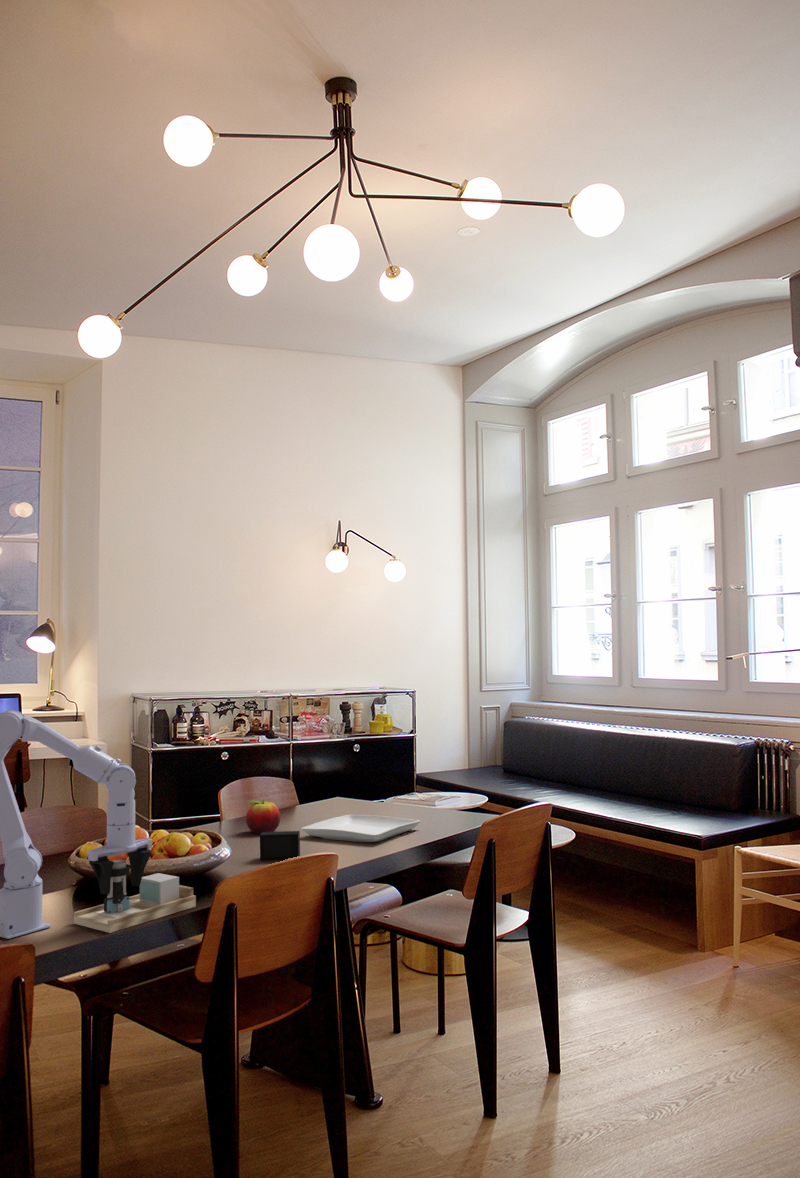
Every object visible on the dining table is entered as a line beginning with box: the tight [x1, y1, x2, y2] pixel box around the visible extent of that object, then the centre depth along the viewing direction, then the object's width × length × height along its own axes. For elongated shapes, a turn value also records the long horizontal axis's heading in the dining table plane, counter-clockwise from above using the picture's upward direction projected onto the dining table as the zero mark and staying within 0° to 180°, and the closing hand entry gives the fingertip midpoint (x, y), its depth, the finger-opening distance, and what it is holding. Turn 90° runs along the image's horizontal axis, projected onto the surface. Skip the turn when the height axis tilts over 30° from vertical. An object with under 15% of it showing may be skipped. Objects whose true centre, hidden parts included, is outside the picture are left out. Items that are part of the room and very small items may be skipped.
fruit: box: [245, 799, 281, 835], centre depth 276 cm, size 11×11×10 cm
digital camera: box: [259, 830, 301, 862], centre depth 238 cm, size 10×5×7 cm, turn 91°
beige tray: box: [73, 884, 197, 934], centre depth 187 cm, size 22×12×4 cm, turn 144°
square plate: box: [300, 813, 421, 843], centre depth 269 cm, size 27×27×4 cm
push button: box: [103, 859, 135, 914], centre depth 185 cm, size 7×5×10 cm
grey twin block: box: [139, 872, 180, 905], centre depth 192 cm, size 5×7×5 cm
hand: (120, 889), depth 184 cm, fingers open, 7 cm apart
